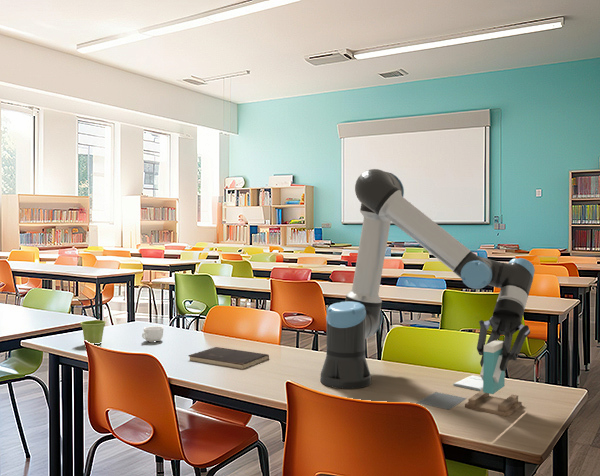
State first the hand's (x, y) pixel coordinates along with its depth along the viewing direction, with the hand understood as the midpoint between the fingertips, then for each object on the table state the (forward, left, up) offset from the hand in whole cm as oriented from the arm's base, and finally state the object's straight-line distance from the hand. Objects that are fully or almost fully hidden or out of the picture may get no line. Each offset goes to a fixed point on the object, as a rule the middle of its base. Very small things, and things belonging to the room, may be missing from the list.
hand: (489, 378), depth 140 cm
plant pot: (-101, -110, -9) cm, 149 cm away
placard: (-3, +3, -4) cm, 5 cm away
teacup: (-102, -88, -9) cm, 135 cm away
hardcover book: (-67, -60, -9) cm, 90 cm away
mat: (-10, -8, -8) cm, 15 cm away
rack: (-3, +3, -8) cm, 9 cm away
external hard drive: (-22, +9, -9) cm, 26 cm away
